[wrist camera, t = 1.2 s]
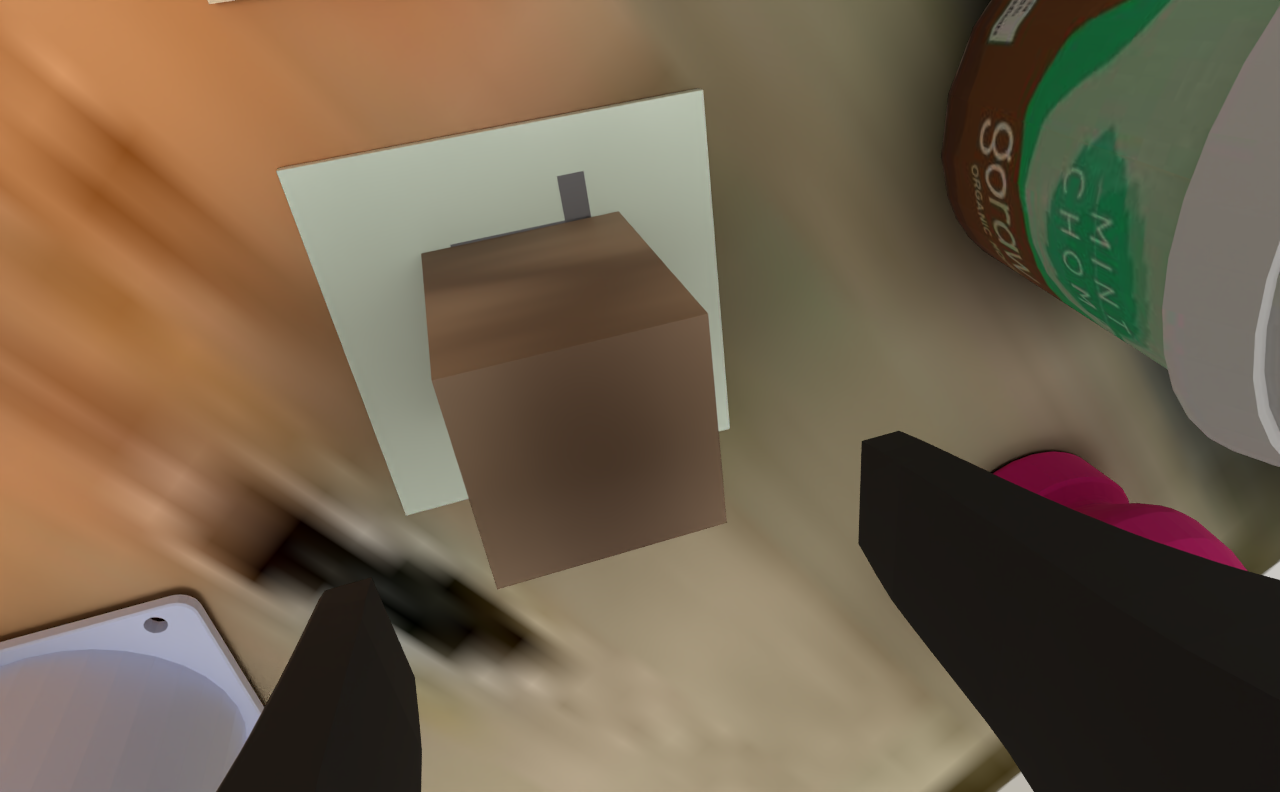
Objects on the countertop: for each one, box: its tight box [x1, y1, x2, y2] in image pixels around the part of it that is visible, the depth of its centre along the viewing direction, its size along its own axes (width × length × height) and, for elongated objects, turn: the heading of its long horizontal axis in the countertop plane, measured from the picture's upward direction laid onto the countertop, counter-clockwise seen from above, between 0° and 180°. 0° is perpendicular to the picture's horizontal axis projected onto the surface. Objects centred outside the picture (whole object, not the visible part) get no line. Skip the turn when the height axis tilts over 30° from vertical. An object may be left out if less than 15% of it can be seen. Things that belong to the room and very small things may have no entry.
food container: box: [941, 0, 1280, 467], centre depth 16 cm, size 12×6×10 cm, turn 38°
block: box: [421, 211, 727, 589], centre depth 16 cm, size 4×4×6 cm
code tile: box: [276, 88, 730, 516], centre depth 18 cm, size 9×9×1 cm
